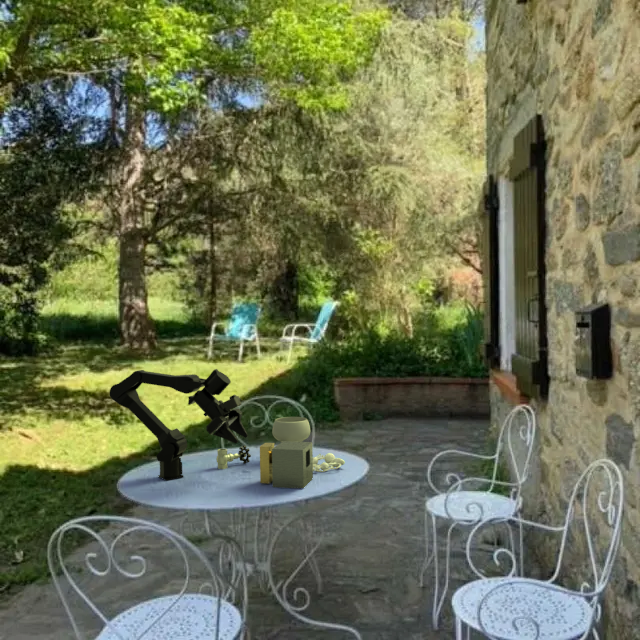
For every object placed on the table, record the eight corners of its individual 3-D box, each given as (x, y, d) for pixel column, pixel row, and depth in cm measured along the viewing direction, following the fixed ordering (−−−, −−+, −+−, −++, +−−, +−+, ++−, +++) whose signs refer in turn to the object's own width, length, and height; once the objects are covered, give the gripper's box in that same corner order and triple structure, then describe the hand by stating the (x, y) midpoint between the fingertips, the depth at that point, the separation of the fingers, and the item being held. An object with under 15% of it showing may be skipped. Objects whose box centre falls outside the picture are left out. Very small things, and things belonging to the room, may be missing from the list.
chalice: (307, 464, 240) (306, 422, 240) (269, 464, 242) (268, 422, 242) (313, 456, 254) (313, 416, 254) (277, 455, 256) (276, 416, 256)
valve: (222, 471, 234) (251, 465, 242) (222, 452, 233) (250, 446, 241) (212, 467, 239) (240, 462, 247) (212, 449, 238) (240, 444, 246)
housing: (272, 487, 211) (271, 449, 211) (283, 477, 222) (282, 441, 222) (303, 488, 208) (302, 450, 208) (313, 478, 220) (312, 442, 220)
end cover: (260, 483, 215) (259, 446, 215) (266, 478, 221) (265, 442, 220) (293, 484, 212) (293, 447, 212) (298, 479, 218) (298, 443, 218)
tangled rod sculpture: (299, 482, 222) (299, 470, 221) (281, 469, 235) (281, 458, 234) (350, 472, 231) (350, 461, 230) (330, 461, 243) (330, 450, 243)
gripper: (214, 391, 211) (249, 427, 209) (235, 384, 229) (267, 417, 227) (192, 416, 213) (225, 452, 211) (214, 407, 231) (245, 440, 229)
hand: (242, 439), depth 219 cm, fingers open, 9 cm apart
